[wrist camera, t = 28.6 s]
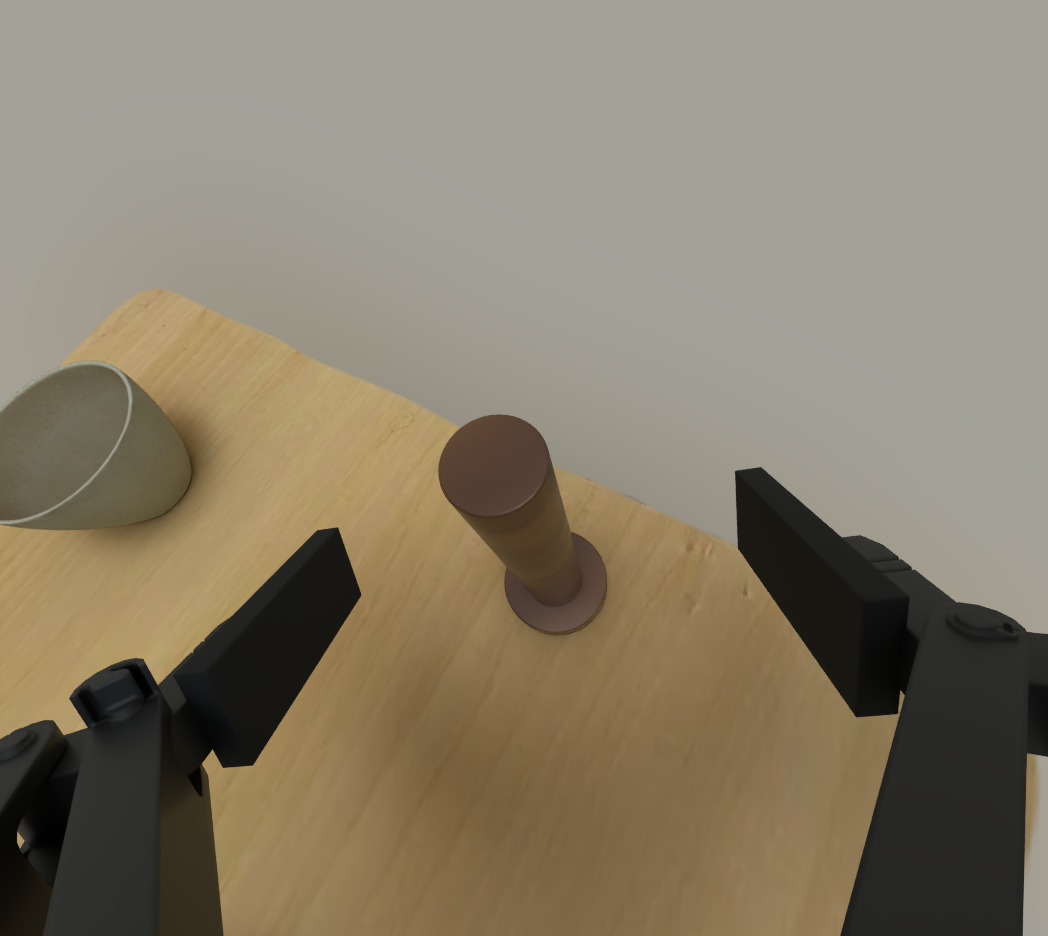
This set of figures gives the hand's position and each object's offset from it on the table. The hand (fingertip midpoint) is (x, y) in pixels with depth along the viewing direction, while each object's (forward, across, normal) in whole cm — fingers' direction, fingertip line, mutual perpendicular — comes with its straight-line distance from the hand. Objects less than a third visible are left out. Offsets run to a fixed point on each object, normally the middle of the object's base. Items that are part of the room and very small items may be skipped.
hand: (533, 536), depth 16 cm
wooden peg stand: (+8, 0, -7) cm, 10 cm away
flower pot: (+15, -27, 0) cm, 30 cm away
